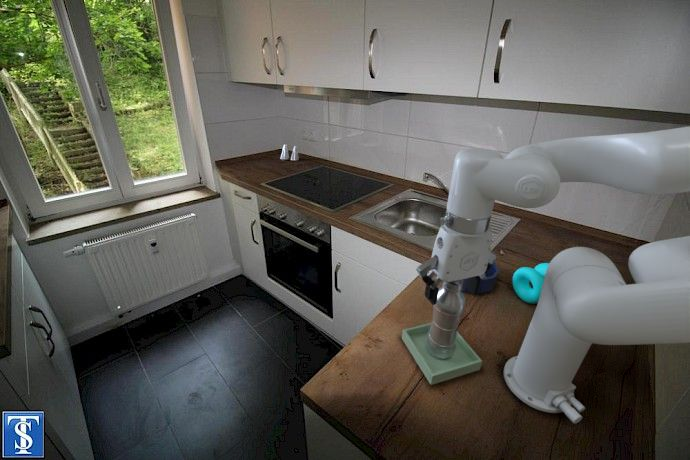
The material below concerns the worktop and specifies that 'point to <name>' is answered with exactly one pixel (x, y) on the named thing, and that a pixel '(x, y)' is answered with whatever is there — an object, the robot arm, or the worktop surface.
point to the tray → (436, 367)
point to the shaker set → (286, 155)
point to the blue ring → (486, 280)
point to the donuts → (522, 282)
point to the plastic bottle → (446, 319)
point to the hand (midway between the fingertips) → (451, 295)
